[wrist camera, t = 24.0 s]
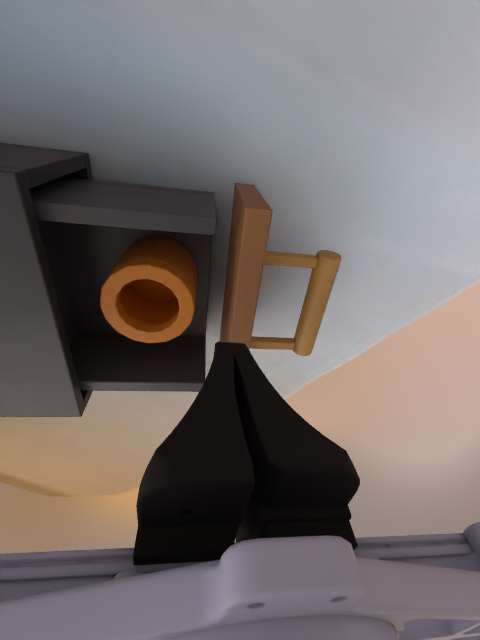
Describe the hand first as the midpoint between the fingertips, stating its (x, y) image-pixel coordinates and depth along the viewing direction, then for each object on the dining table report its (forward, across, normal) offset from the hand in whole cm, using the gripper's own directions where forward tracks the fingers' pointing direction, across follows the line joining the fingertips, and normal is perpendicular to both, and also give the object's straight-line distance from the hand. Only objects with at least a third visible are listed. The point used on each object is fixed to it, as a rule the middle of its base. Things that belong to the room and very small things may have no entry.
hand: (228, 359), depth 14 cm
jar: (+8, +4, 0) cm, 9 cm away
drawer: (+9, +2, 0) cm, 9 cm away
